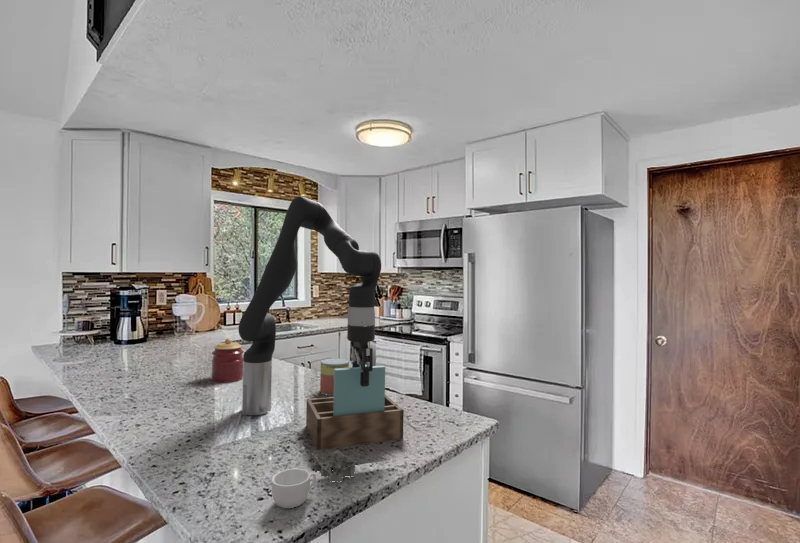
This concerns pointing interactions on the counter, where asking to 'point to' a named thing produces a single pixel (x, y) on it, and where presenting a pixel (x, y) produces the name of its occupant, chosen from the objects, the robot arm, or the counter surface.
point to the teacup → (291, 487)
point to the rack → (352, 425)
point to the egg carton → (336, 466)
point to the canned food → (330, 373)
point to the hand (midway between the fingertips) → (360, 382)
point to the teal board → (358, 391)
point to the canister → (227, 362)
